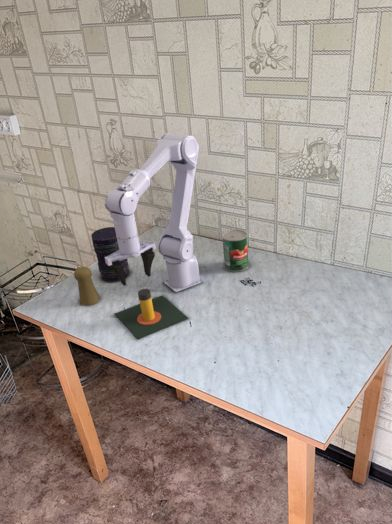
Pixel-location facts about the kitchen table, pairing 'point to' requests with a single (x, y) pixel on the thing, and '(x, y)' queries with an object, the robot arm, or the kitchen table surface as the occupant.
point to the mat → (163, 318)
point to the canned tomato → (235, 250)
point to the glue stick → (146, 304)
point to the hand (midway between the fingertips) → (136, 279)
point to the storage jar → (107, 253)
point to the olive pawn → (86, 286)
